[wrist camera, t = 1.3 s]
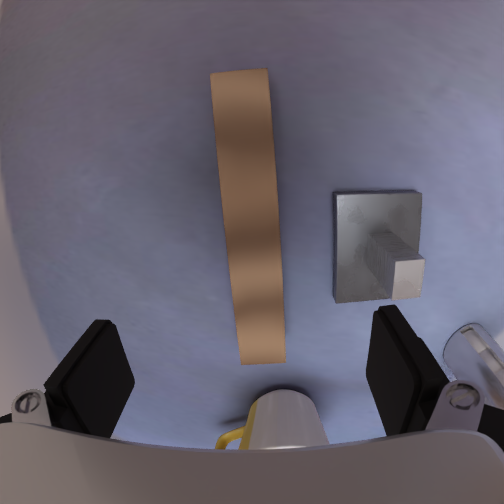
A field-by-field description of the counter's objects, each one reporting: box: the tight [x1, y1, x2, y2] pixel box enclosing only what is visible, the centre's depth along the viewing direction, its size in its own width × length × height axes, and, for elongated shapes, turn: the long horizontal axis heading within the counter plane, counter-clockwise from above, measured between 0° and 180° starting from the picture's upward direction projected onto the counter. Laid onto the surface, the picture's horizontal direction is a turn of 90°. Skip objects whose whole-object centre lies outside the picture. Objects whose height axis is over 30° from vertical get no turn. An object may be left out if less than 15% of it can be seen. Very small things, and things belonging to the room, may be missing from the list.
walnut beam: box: [210, 68, 286, 365], centre depth 26 cm, size 24×4×5 cm, turn 5°
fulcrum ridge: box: [333, 191, 425, 303], centre depth 24 cm, size 10×8×8 cm
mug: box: [215, 389, 330, 450], centre depth 31 cm, size 14×10×10 cm
